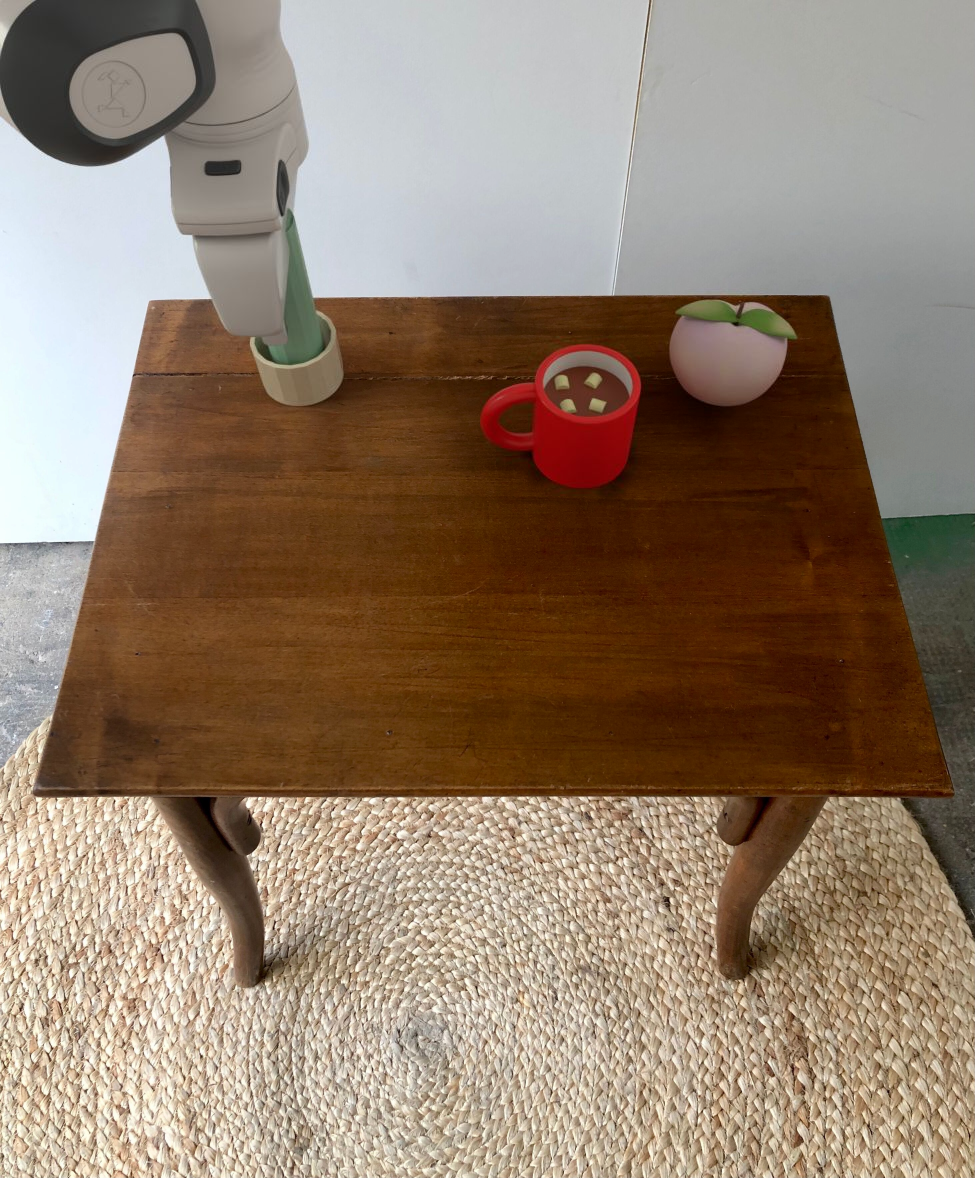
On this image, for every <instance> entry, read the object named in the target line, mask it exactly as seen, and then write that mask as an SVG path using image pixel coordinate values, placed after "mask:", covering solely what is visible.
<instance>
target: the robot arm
mask: <svg viewBox="0 0 975 1178" xmlns="http://www.w3.org/2000/svg"><path fill="white" fill-rule="evenodd" d="M281 13H282V0H0V118H1V119H3V121H5V122H6V123H7V124H8V125H9V126H10V127H12V128H13V129H14V130H15V131H16V132H17V133H18V134H20V135H21V136H22V137H23V138H25V139H26V140H27V141H28V142H29V143H30V144H31V145H33V147H35V148H36V149H37V150H39V151H40V152H42V153H43V154H44V155H46V156H49V157H50V158H52V159H55V160H57V161H59V162H61V163H65V164H67V165H68V164H69V165H72V166H78V167H88V168H89V167H91V168H92V167H103V166H108V165H113V164H115V163H118V162H121V161H125V160H126V159H128V158H130V157H132V156H134V155H135V154H137V153H138V152H141V150H143V149H145V148H147V147H148V146H150V145H152V144H154V143H155V142H156V141H158V140H159V139H160V138H161V139H162V138H164V141H165V144H166V147H167V152H168V157H169V165H170V166H169V176H170V208H171V213H172V217H173V220H174V222H175V225H176V228H177V231H178V232H179V233H180V234H181V235H183V236H191V237H192V238H191V239H192V245H193V251H194V256H195V259H196V261H197V266H198V268H199V271H200V274H201V276H202V279H203V282H204V284H205V287H206V289H207V292H208V294H209V297H210V299H211V301H212V304H213V306H214V308H215V310H216V312H217V315H218V318H219V320H220V322H221V324H222V325H223V327H224V329H225V330H226V331H227V332H228V333H229V334H230V335H232V336H234V337H237V338H251V337H262V340H263V342H264V343H265V344H266V345H268V346H277V345H285V344H286V343H287V337H288V325H287V322H286V317H285V314H284V308H285V297H286V287H287V277H288V266H289V256H290V249H289V245H288V241H287V238H286V234H285V233H286V223H287V213H288V208H289V209H291V211H292V213H293V215H294V214H295V213H294V212H295V202H296V191H297V180H298V171H299V168H300V166H301V165H302V164H303V162H305V160H306V158H307V155H308V153H309V147H310V145H309V143H310V141H309V135H308V130H307V125H306V119H305V116H304V110H303V109H304V108H303V106H302V100H301V95H300V90H299V84H298V80H297V74H296V70H295V66H294V63H293V60H292V57H291V55H290V54H289V52H288V49H287V48H286V46H285V44H284V41H283V36H282V32H281Z"/></svg>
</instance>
